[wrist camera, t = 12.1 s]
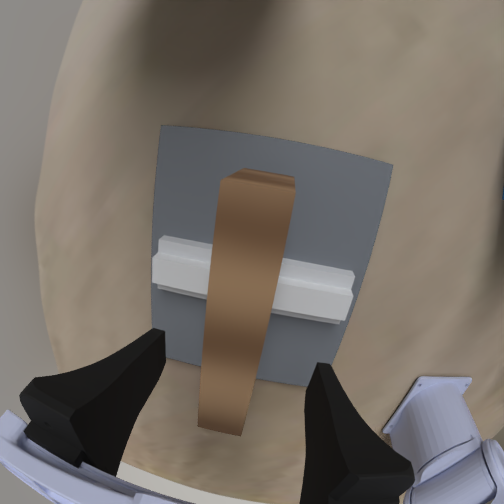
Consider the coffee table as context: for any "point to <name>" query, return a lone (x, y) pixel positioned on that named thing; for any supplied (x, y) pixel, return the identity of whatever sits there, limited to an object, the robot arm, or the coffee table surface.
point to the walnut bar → (241, 291)
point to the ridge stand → (296, 249)
